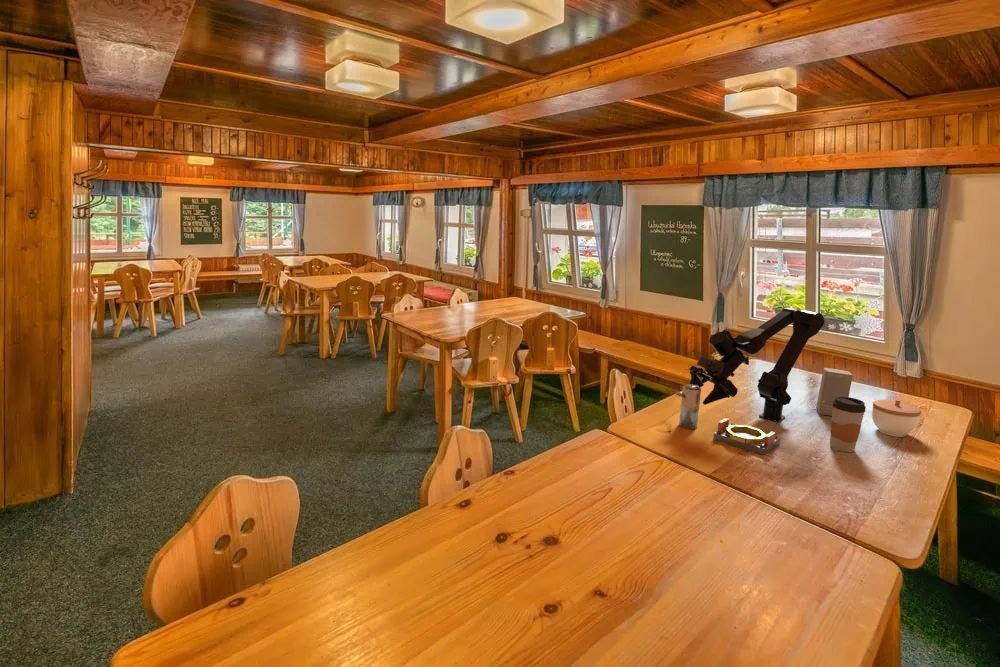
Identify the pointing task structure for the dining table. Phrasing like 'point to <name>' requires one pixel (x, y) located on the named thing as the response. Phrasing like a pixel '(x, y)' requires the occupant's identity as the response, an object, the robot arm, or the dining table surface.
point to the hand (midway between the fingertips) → (694, 399)
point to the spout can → (689, 406)
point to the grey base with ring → (746, 437)
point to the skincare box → (832, 389)
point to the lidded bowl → (895, 417)
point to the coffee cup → (846, 423)
